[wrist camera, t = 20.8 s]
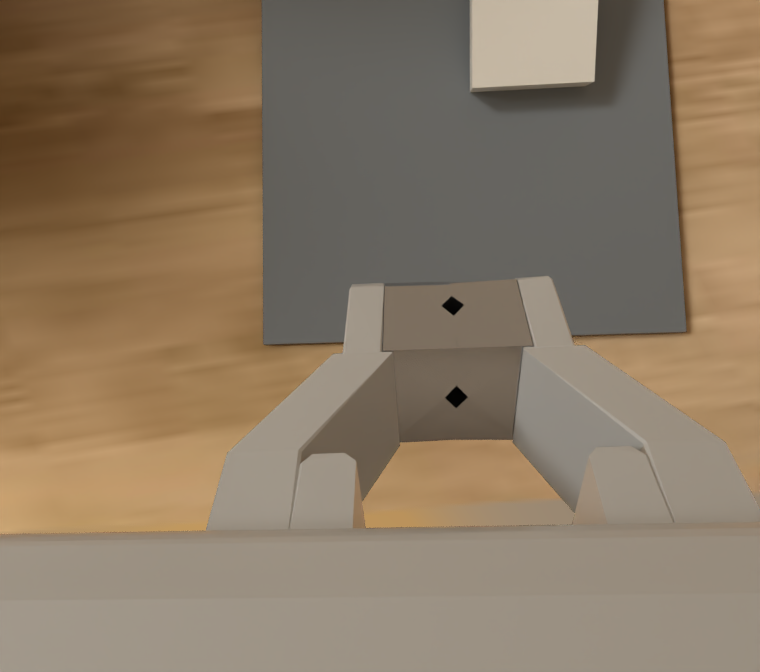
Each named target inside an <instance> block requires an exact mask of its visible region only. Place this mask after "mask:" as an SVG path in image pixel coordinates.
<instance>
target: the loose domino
mask: <svg viewBox="0 0 760 672" xmlns="http://www.w3.org/2000/svg"><path fill="white" fill-rule="evenodd" d="M597 18H598V0H470V92H485V91H504V90H524V89H543V88H562V87H581V86H587V85H589V84H591V83H593V82H594V80H595V59H596V39H597Z"/></svg>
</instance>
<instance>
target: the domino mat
mask: <svg viewBox="0 0 760 672" xmlns="http://www.w3.org/2000/svg"><path fill="white" fill-rule="evenodd" d="M262 147H263V344H264V345H282V344H315V343H344V337H345V327H346V318H347V308H348V299H349V290H350V288H351V286H352V284H372V283H383V284H384V285H385V283H412V282H469V281H488V280H507V279H515V278H525V277H539V276H549V277H550V278H552V279H553V282H554V285H555V288H556V291H557V294H558V297H559V300H560V303H561V306H562V309H563V312H564V315H565V318H566V321H567V324H568V327H569V330H570V333H571V335H572V336H584V335H617V334H651V333H683V332H687V331H686V317H685V302H684V288H683V273H682V259H681V245H680V230H679V216H678V201H677V187H676V173H675V158H674V144H673V129H672V115H671V101H670V86H669V72H668V57H667V43H666V29H665V14H664V0H598V18H597V39H596V59H595V80H594V82H593V83H591V84H589V85H587V86H581V87H562V88H543V89H524V90H504V91H485V92H470V0H262Z"/></svg>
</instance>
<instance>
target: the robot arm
mask: <svg viewBox="0 0 760 672" xmlns="http://www.w3.org/2000/svg"><path fill="white" fill-rule="evenodd" d="M455 439H456V440H513V443H514V444H515V446H516V447H517V448H518V449H519V450H520V451H521V452H522V454H523V455H524V456H525V457H526V458H527V459H528V460H529V462H530V463H531V464H532V465H533V466H534V467H535V468H536V470H537V471H538V472H539V473H540V474H541V475H542V476H543V478H544V479H545V480H546V481H547V482H548V483H549V484H550V486H551V487H552V488H553V489H554V490H555V491H556V492H557V494H558V495H559V496H560V497H561V498H562V499H563V501H564V502H565V503H566V504H567V505H568V506H569V507H570V508H571V510H572V511H573V512H574V513H575V514H574V519H573V522H572V525H523V526H522V525H519V526H461V527H460V526H459V527H396V528H366V527H365V520H364V513H363V506H362V501H363V499H364V498H365V497H366V495H367V494H368V492H369V491H370V489H371V488H372V486H373V485H374V483H375V482H376V480H377V479H378V477H379V476H380V474H381V473H382V471H383V470H384V468H385V467H386V465H387V464H388V462H389V461H390V459H391V458H392V456H393V455H394V453H395V452H396V450H397V449H398V447H399V446H400V442H419V441H438V440H455ZM0 672H760V509H759V506H758V504H757V502H756V500H755V498H754V496H753V494H752V492H751V491H750V489H749V487H748V485H747V483H746V481H745V479H744V477H743V475H742V473H741V471H740V469H739V467H738V465H737V464H736V462H735V460H734V458H733V456H732V454H731V452H730V450H729V448H728V446H727V444H726V442H724V441H723V440H722V439H720V438H719V437H717V436H716V435H714V434H713V433H711V432H710V431H709V430H707V429H706V428H704V427H703V426H701V425H700V424H698V423H697V422H696V421H694V420H693V419H691V418H690V417H688V416H687V415H685V414H684V413H682V412H681V411H680V410H678V409H677V408H675V407H674V406H672V405H671V404H669V403H668V402H667V401H665V400H664V399H662V398H661V397H659V396H658V395H656V394H655V393H654V392H652V391H651V390H649V389H648V388H646V387H645V386H643V385H642V384H641V383H639V382H638V381H636V380H635V379H633V378H632V377H630V376H629V375H627V374H626V373H625V372H623V371H622V370H620V369H619V368H617V367H616V366H614V365H613V364H612V363H610V362H609V361H607V360H606V359H604V358H603V357H601V356H600V355H599V354H597V353H596V352H594V351H593V350H591V349H590V348H588V347H587V346H585V345H575V344H574V341H573V338H572V335H571V333H570V330H569V327H568V324H567V321H566V318H565V315H564V312H563V309H562V306H561V303H560V300H559V297H558V294H557V291H556V288H555V285H554V282H553V279H552V278H550V277H549V276H539V277H525V278H515V279H507V280H488V281H469V282H412V283H385V285H384V284H383V283H372V284H352V286H351V288H350V290H349V299H348V308H347V318H346V327H345V337H344V346H343V353H337V354H332V355H331V356H330V357H329V358H328V359H327V360H326V361H325V362H324V363H323V364H322V365H321V366H320V367H318V368H317V369H316V370H315V371H314V372H313V373H312V374H311V375H310V376H309V377H308V378H307V379H306V380H305V381H304V382H302V383H301V384H300V385H299V386H298V387H297V388H296V389H295V390H294V391H293V392H292V393H291V394H290V395H289V396H288V397H286V398H285V399H284V400H283V401H282V402H281V403H280V404H279V405H278V406H277V407H276V408H275V409H274V410H273V411H272V412H270V413H269V414H268V415H267V416H266V417H265V418H264V419H263V420H262V421H261V422H260V423H259V424H258V425H257V426H255V427H254V428H253V429H252V430H251V431H250V432H249V433H248V434H247V435H246V436H245V437H244V438H243V439H242V440H241V441H239V442H238V443H237V444H236V445H235V446H234V447H233V448H232V449H231V450H230V451H229V452H228V453H227V456H226V459H225V463H224V466H223V470H222V474H221V477H220V481H219V484H218V488H217V492H216V495H215V499H214V503H213V506H212V510H211V513H210V517H209V521H208V524H207V528H206V531H153V532H152V531H151V532H92V533H91V532H90V533H28V534H0Z"/></svg>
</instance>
